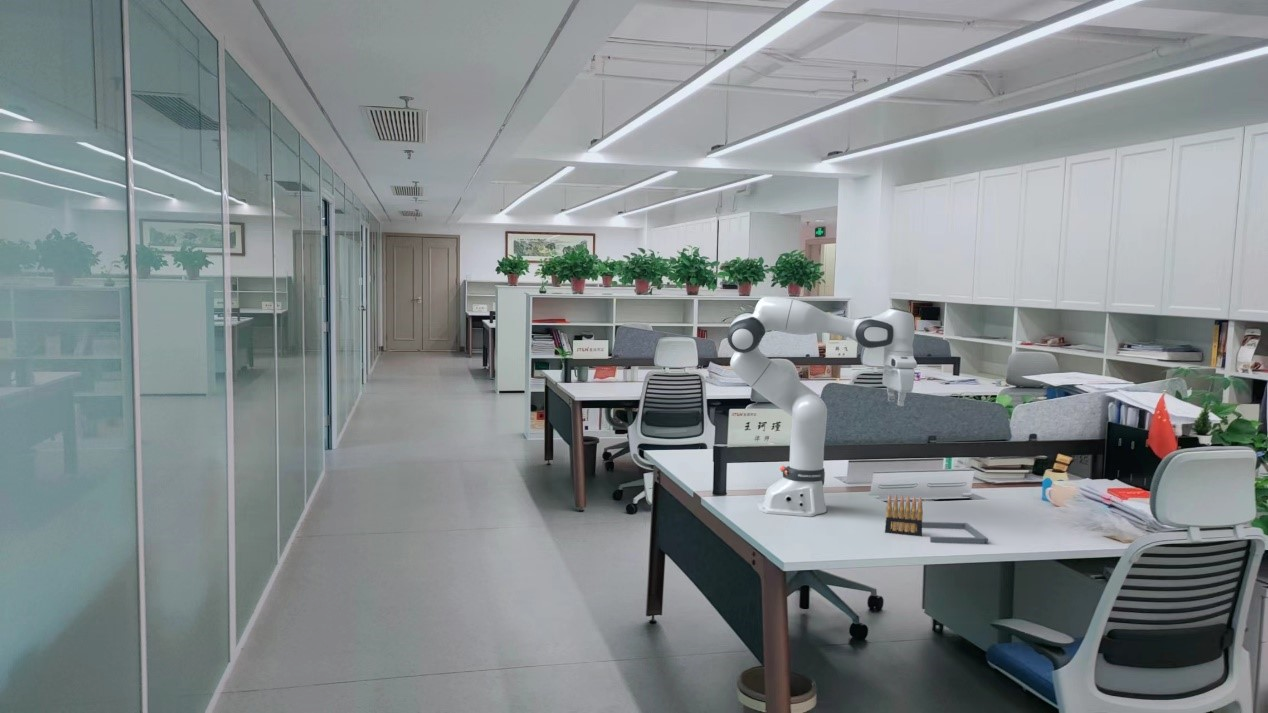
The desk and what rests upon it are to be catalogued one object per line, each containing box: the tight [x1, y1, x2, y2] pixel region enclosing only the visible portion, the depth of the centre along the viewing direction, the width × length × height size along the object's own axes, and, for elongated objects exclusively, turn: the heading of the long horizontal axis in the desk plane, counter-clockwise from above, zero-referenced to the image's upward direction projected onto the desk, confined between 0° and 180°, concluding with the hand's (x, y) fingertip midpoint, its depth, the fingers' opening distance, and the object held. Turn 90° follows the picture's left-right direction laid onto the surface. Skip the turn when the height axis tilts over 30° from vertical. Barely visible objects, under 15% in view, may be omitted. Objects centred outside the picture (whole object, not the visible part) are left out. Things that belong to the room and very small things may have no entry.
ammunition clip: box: [884, 493, 924, 537], centre depth 259 cm, size 11×2×12 cm, turn 73°
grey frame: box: [922, 521, 989, 545], centre depth 259 cm, size 16×17×2 cm
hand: (895, 403), depth 272 cm, fingers open, 8 cm apart
